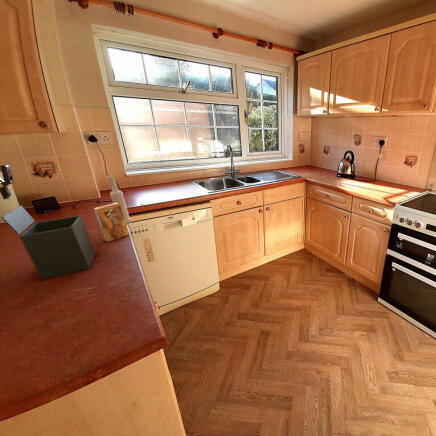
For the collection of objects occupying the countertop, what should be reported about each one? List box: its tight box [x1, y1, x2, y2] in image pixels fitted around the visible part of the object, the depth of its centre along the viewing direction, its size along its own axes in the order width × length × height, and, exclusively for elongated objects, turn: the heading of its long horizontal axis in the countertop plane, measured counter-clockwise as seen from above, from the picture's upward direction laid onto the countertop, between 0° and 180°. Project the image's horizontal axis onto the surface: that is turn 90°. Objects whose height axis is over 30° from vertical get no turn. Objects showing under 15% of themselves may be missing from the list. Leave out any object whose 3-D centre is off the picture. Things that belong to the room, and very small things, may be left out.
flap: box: [1, 205, 36, 236], centre depth 80 cm, size 6×13×1 cm
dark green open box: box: [19, 215, 96, 280], centre depth 88 cm, size 13×13×16 cm
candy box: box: [93, 202, 130, 242], centre depth 109 cm, size 9×4×15 cm, turn 145°
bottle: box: [107, 175, 132, 225], centre depth 123 cm, size 5×5×25 cm
